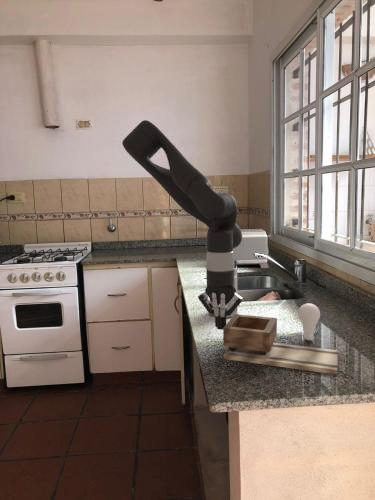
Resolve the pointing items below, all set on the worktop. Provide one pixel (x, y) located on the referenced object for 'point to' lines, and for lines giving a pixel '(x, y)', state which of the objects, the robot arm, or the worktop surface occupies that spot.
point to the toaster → (252, 247)
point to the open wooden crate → (250, 333)
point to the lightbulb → (308, 319)
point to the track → (290, 357)
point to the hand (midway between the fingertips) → (220, 328)
